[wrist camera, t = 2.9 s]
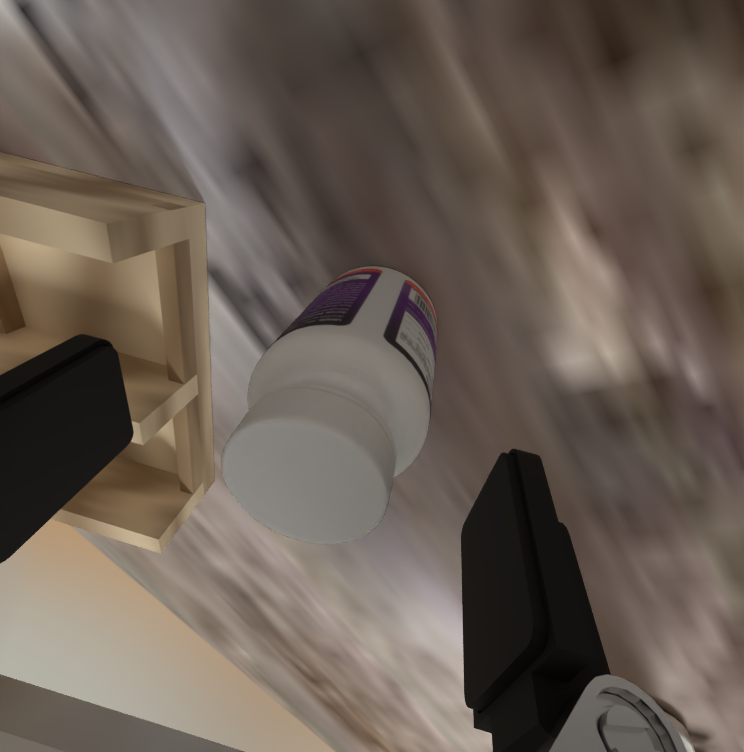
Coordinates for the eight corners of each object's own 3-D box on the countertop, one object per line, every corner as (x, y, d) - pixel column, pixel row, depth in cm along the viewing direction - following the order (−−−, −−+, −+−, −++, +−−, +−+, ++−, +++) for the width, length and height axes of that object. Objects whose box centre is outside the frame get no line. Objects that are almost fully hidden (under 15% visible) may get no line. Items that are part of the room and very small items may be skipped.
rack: (205, 203, 16) (106, 223, 11) (214, 481, 24) (160, 553, 20) (-16, 148, 16) (-191, 146, 12) (70, 438, 25) (-12, 499, 21)
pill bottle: (308, 356, 18) (188, 521, 10) (332, 245, 16) (191, 350, 7) (415, 392, 18) (381, 589, 10) (458, 288, 15) (460, 442, 7)
